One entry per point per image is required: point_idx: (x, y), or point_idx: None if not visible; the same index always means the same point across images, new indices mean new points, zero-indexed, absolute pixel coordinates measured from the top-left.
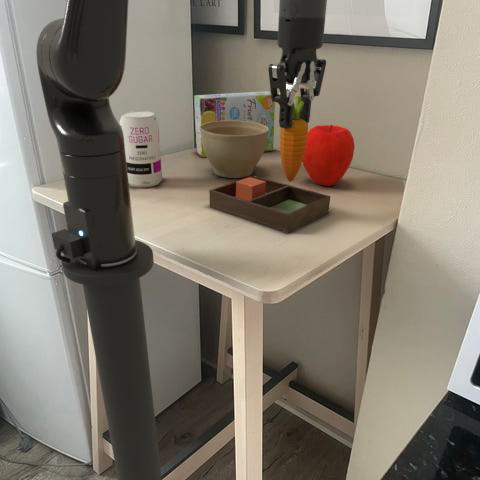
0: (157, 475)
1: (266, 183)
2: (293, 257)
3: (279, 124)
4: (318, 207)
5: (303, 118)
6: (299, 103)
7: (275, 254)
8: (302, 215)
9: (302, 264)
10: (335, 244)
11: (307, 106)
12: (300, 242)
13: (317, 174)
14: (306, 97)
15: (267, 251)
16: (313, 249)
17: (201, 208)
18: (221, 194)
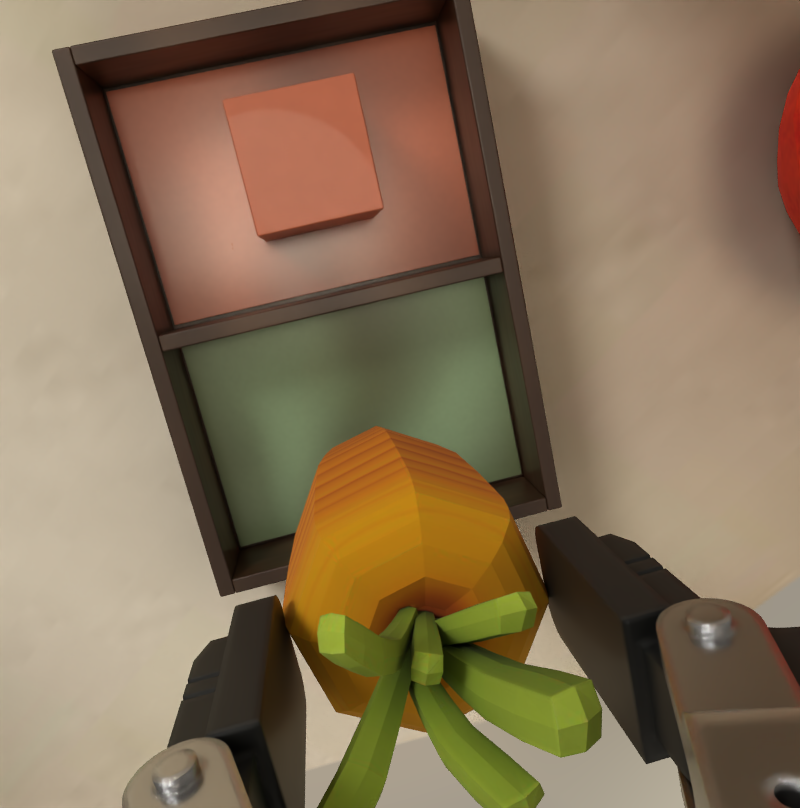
0: None
1: (466, 106)
2: (112, 733)
3: (235, 607)
4: None
5: (562, 605)
6: (479, 789)
7: (66, 684)
8: None
9: (105, 788)
10: (326, 721)
11: (619, 721)
12: None
13: (782, 189)
14: (682, 751)
15: (53, 649)
16: None
17: (37, 67)
18: (85, 157)
